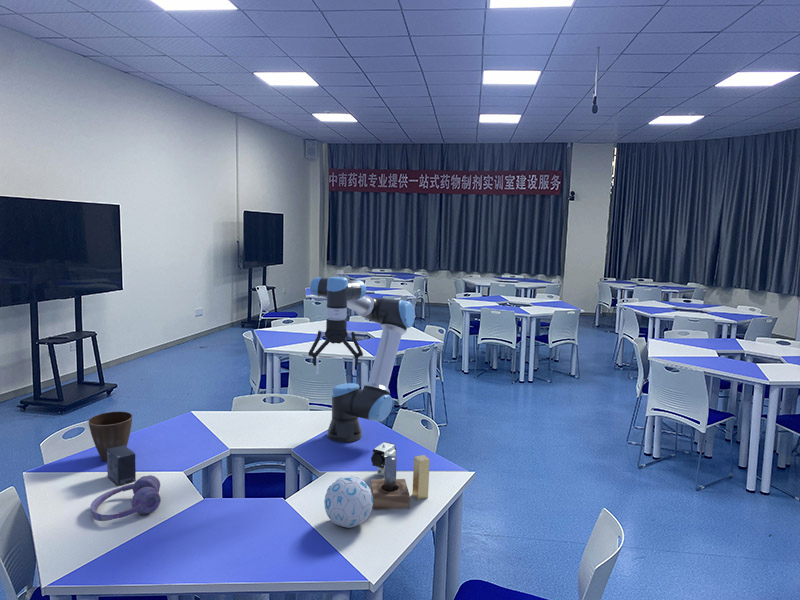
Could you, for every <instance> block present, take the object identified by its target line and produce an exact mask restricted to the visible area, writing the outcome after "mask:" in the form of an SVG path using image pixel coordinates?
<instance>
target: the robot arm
mask: <svg viewBox="0 0 800 600" xmlns="http://www.w3.org/2000/svg"><path fill="white" fill-rule="evenodd" d="M309 291H310V293H311V295H313V296H315V297H322V298H324V299H326V320H325V321H326V325H325V327H326V328H325V331H322V330H320V329H319V330H318V331H317V336H316V338H315V340H314V342H313V344H312V346H311V348H310V349H309V351H308V354H307V355H308V356H311V357H312V358H313V359H312V361H313V362H312V365H313V366H315V375H316V376H318V375H319V359H320V358H319V354H320V353H321V352H322V351H323V350H324V349H325V348H326V347H327V346H328V345H329V344H330V343H331V344H333V345H334V344H339V345H340V344H341V343H343V345H344V346H345V348H347V349H348V351H349V352H350V353H351V354H352V355H353V356H352V375H353V376H355V374H356V372H355V371H356V368H355V367H357V366H358V365H359V357H363V356H364V353H363V350H362V348H361V347H360V345H359V342H358V340H357V338H356V332H355V331H354V330H351V331H348V330H347V329H348V327H347V325H348V324H347V322H348V320H347V317H348V309H350V310H352V311H354V312H355V313H356V314H357V316H358V315H359V316H360V317H361V318H363V319H366V320H368V321H371V322H373V323H375V324H379V325H380V327H381V330H382V332H381V335H380V340H379V344H378V347H377V350H376V353H375V357H374V362H373V366H372V368H371V372H370V375H369V376H370V377H369V379H368V382H366V384H363V388H362V389H360V385H359V384H358V383H352V382H349V383H341V384H338V385H336V386H334V387H333V388H332V394H331V399H332V400H331V420H330V423H329V426H328V429H327V435H326V436H327V438H328V439H329V440H330V441H333V442H336V443H351V442H356V441H359V440H360V439H362V436H363V429H362V426H361V424H360V420H359V419H364V420H368V421H371V422H382V421H384V420H386V419H387V418H388V417H389V415H390V413H391V411H392V408H393V398H392V396H391V395H390V394H391V392H390V389H389V386H390V385H389V384H390V381H391V377H392V372H393V368H394V365H395V361H396V358H397V355H398V351H399V347H400V344H401V343H400V342H401V339H402V336H403V335H405V334H406V333H407V329H410V328H412V327H413V325H414V323H415V317H416V316H415V315H416V313H415V308H414V305H413V304H412V303H411V302H410V301H408V300H403V299H394V298H383V297H371V296H370V295H367V294H366V293H367V287H366V284H365V282H364V281H362V280H360V279H353V280H350V279H348V278H347V277H345V276H330V277H313V278H312V280H311V281H310V284H309ZM324 336H325V338H326V339H324V342H323V343H322V344H320V346H319V347H318V348H317V349H316V347H317V346H318V345H319V342H320V340H321V338H323V337H324ZM347 337H349V338H351V339H352V342H353V344H354V346H355V348H356V350H357V351H356V350H355V349H354V348H353V346H352V345H351V344H350V343H349V342H348V340H347V339H346V338H347Z"/></svg>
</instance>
